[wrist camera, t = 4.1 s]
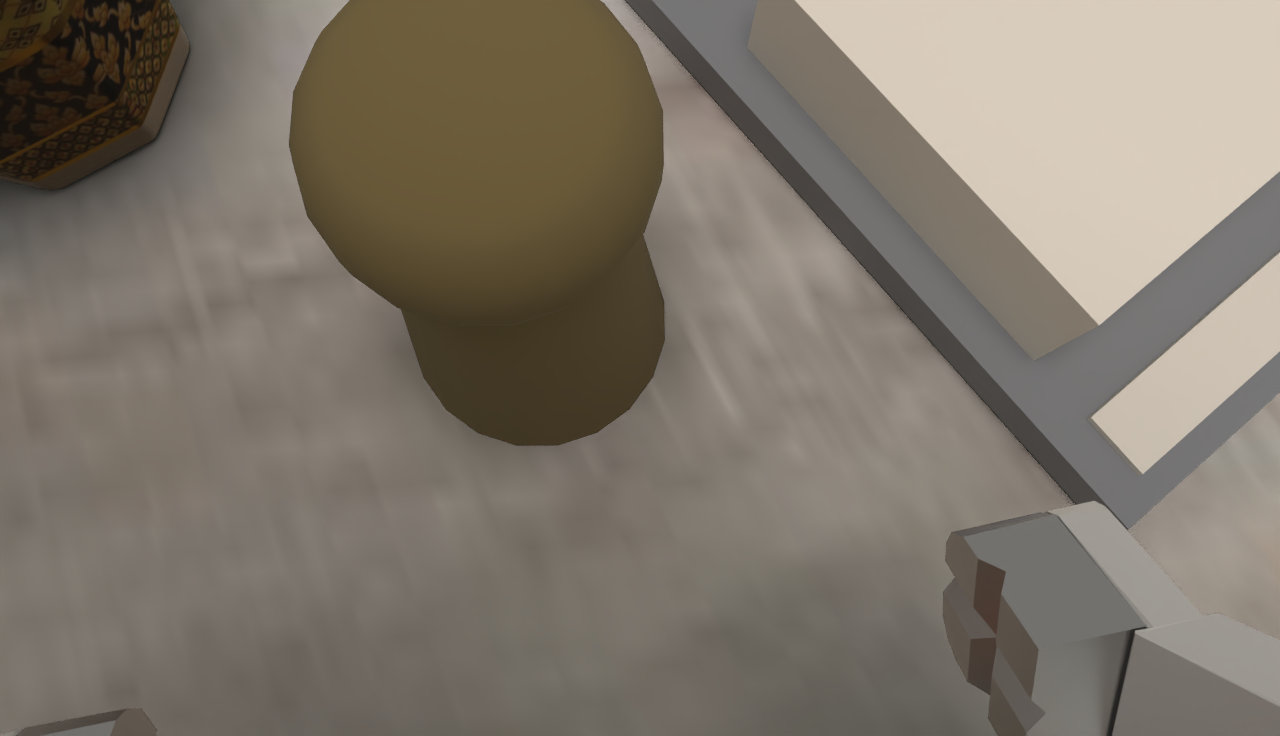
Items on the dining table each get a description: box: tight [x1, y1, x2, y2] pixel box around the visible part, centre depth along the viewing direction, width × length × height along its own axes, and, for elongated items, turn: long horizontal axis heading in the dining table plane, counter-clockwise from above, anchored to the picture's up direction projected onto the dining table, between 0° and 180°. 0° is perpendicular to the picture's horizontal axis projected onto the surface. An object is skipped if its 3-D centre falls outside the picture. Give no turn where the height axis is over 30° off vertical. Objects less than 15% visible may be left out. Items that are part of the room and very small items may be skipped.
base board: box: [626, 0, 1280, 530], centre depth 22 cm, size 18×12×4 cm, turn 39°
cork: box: [289, 0, 665, 445], centre depth 17 cm, size 6×6×11 cm
